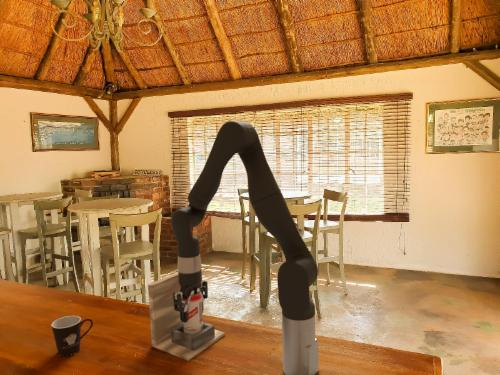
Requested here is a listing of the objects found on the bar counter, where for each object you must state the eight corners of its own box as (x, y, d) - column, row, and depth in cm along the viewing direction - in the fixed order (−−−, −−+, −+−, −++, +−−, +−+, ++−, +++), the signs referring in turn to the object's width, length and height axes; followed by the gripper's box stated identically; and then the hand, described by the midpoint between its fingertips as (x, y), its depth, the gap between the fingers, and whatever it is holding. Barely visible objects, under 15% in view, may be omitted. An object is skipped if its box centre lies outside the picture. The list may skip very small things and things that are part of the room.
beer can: (199, 345, 126) (198, 297, 124) (181, 343, 127) (179, 295, 125) (205, 335, 132) (204, 289, 130) (187, 333, 133) (186, 288, 131)
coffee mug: (51, 360, 121) (48, 330, 120) (57, 346, 130) (54, 318, 128) (91, 354, 124) (89, 324, 123) (94, 340, 133) (92, 312, 131)
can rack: (152, 346, 128) (147, 284, 125) (190, 324, 142) (187, 268, 140) (188, 360, 119) (184, 294, 116) (224, 335, 133) (222, 275, 131)
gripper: (182, 277, 118) (185, 329, 120) (213, 264, 130) (215, 311, 132) (165, 273, 123) (168, 323, 125) (196, 260, 134) (198, 306, 136)
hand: (192, 317), depth 128 cm, fingers open, 7 cm apart
